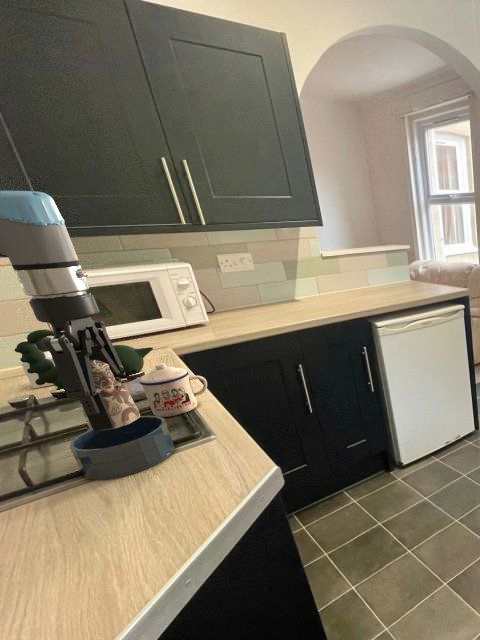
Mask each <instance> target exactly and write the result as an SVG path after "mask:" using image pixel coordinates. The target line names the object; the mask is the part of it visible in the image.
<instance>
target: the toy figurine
mask: <svg viewBox="0 0 480 640" xmlns="http://www.w3.org/2000/svg"><path fill="white" fill-rule="evenodd" d="M45 337H55V336H54V332H53V330H49V329H38V330H34V331H32V332H30V333H28V334H27V336H26V339H27V341H24V342H21V341H19V342H20V343H18V344H17V345H16V347H15V348H14V352H15V353H18V354H21V357H20V358H19V360H20V362H21V363H22V362H25V363H29V364H30V365H29V367H30V368H29V369H28V370H27V372H28V373H31V374H33V373H37V374H38V377H39V378H38V379H37V380H36V381H35V383H36V384H37V385H44V384H45V382H46V383H52V384H54V385H53V386H55V387H57V388H56V389H55V391H56V390H60V389H64V387H63V385H62V382H61V379H60V377H59V374H58V372H57V369H56V366H54V364H53V362H52V361H51V360H49V359H46V358H45V357H46V356H45V354H44V353H43V352H42V351H40V350H38V348H37V345H36V344H35V343H38V342H40V341H41V340H42V339H43V338H45ZM112 345H113V347H114V349H115V351H116V353H117V355H118V357H119V359H120V361H121V363H122V366H123V368H124V369H123V371H125V373H126V376H123V377H119V378H120V379H121V380H124V379H128V378H127V376H129V375H132V374H136V373H139V372H140V373H141V371H142V370H143V369H144V364H145V359H144V358H145V357H146V356H147V355H149V354H150V353H151V352H152V351H153V350H154V348H153V347H151V346H150V347H141V348H135V347H132V346H130V345H127V344H126V345H125V344H112ZM120 372H122V371H120ZM129 382H131V381H129Z"/></svg>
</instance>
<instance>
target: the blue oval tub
mask: <svg viewBox="0 0 480 640" xmlns="http://www.w3.org/2000/svg"><path fill="white" fill-rule="evenodd" d="M175 448H176V447H175V444H174V441H173V437H172V436H171V432H170V430H169V428H168V425H167V423H166V420H165V417H159V416H155V415H143V416H141V415H140V418H138V419H137V420H135V421H133V422H131V423H130V424H127V425H124V426H121V427H118V428H114V429H106V430H98V431H94V430H91V429H89V430H87V431H85V432H83V433H82V434H80V435H78V436H76V437H75V438H74V439H73V440H72V441H70V444H69V449H70V451H71V453H72V455H73V457H74V459H75V462H76V463H77V466H78V467H79V469H80V472H81V473H82V475H83V476H84V477H85V478H87V479H89V480H95V481H105V480H113V479H119V478H123V477H126V476H130V475H133V474H136V473H140V472H142V471H144V470H147V469H150V468H151V467H154V466H156V465H158V464H160V463H162V462H163V461H165V460H166V459H168V458H169V457H170V456H171V455H172V454H173V453H174V451H175Z"/></svg>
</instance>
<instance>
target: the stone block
mask: <svg viewBox="0 0 480 640" xmlns="http://www.w3.org/2000/svg"><path fill="white" fill-rule="evenodd" d="M146 374H147V373H145V374H143V375H142V376H144V375H146ZM142 376H141V377H142ZM141 377H137V378H136V379H134V380H132V381H131V382H130V381H127V382H124V383H123V382H122V384H124V385H125V386H126V388H127V389H128V391H129V393H130V395H131V397H132V399H133V401H134V402H136V401H139V400H144V399H147V397H146V394H145V391H144V389H143V386H142V384H140V378H141Z"/></svg>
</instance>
